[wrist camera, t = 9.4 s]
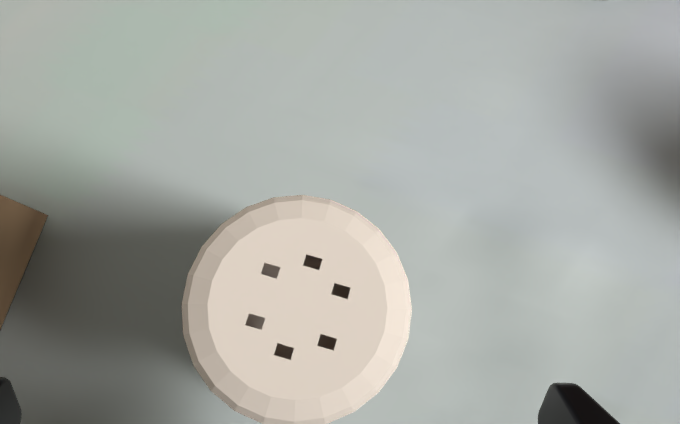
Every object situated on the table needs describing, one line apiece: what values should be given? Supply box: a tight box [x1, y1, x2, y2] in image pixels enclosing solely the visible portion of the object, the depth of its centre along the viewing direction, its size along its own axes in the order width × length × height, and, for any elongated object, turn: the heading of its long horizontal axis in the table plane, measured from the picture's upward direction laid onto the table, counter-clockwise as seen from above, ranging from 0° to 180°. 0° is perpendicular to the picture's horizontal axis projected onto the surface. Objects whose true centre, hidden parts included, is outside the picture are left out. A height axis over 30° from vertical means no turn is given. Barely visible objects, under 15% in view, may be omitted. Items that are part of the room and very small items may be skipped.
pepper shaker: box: [182, 195, 412, 424], centre depth 12 cm, size 5×5×11 cm
